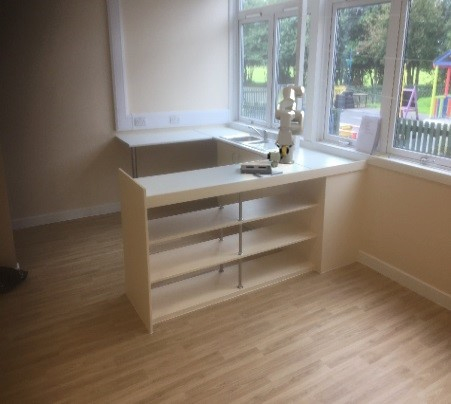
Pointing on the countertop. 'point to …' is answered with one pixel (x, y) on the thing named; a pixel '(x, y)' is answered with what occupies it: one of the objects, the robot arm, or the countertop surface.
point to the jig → (256, 169)
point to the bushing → (283, 150)
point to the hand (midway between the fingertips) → (283, 153)
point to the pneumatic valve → (274, 158)
